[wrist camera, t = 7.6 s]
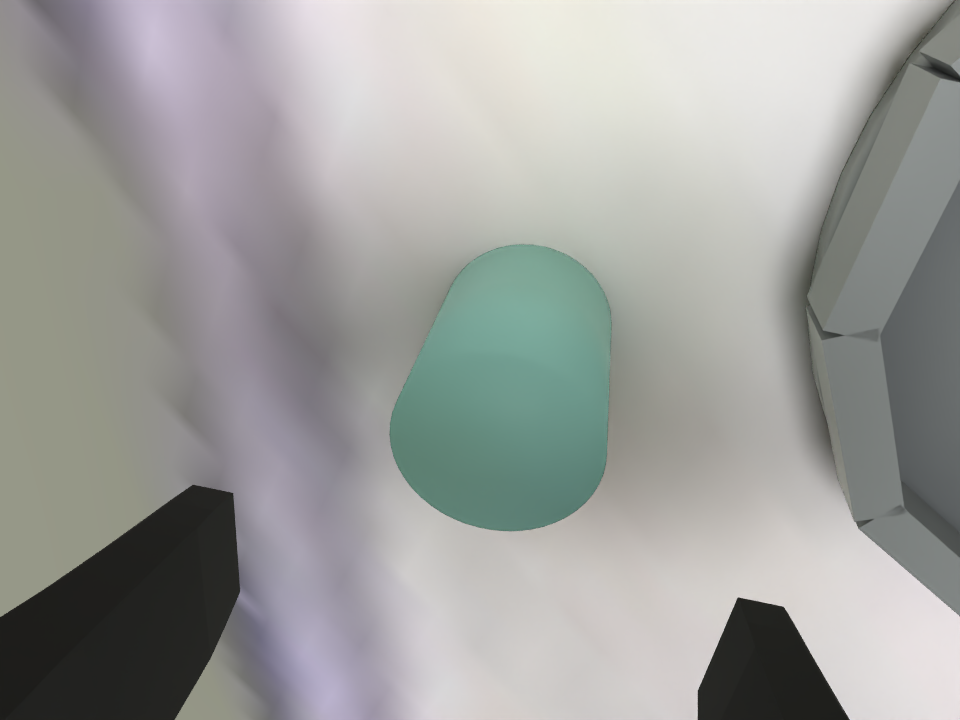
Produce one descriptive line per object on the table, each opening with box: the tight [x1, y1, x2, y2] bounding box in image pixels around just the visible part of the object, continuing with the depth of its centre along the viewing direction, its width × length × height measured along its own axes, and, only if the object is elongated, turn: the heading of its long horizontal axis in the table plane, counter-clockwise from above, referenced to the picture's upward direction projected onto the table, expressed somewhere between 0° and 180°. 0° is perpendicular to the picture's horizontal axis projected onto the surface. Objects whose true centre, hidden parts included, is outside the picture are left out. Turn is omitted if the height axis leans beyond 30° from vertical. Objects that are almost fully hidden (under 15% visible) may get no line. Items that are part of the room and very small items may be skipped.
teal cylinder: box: [390, 245, 611, 531], centre depth 16 cm, size 4×4×5 cm
